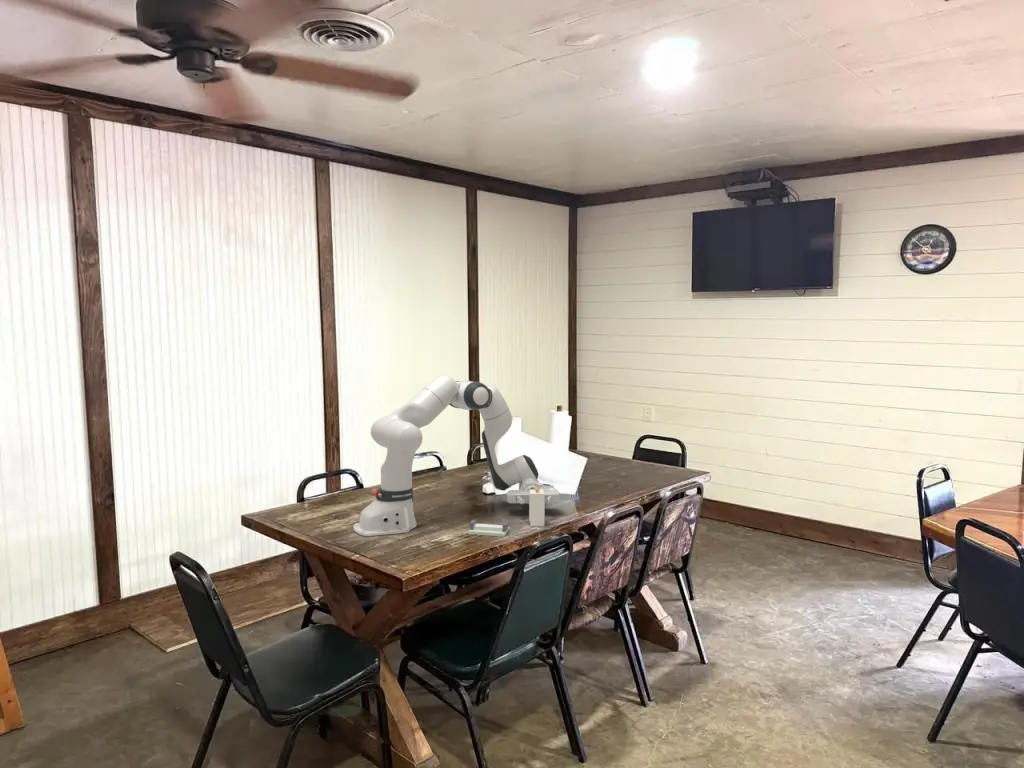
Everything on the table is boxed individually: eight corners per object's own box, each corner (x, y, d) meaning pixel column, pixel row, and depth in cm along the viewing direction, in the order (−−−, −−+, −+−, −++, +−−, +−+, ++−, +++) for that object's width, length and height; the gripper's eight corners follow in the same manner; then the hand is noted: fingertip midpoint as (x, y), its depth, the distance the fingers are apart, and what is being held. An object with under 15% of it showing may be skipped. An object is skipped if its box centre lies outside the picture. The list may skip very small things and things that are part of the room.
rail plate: (474, 527, 251) (474, 518, 250) (509, 529, 248) (509, 520, 248) (468, 534, 243) (468, 524, 242) (504, 536, 240) (504, 527, 240)
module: (529, 521, 259) (529, 486, 257) (542, 521, 259) (542, 486, 258) (530, 526, 252) (530, 490, 251) (544, 526, 253) (544, 490, 251)
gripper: (505, 485, 273) (507, 493, 259) (557, 484, 274) (561, 493, 260) (505, 500, 273) (507, 510, 259) (556, 500, 275) (561, 510, 261)
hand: (535, 501), depth 260 cm, fingers open, 8 cm apart
